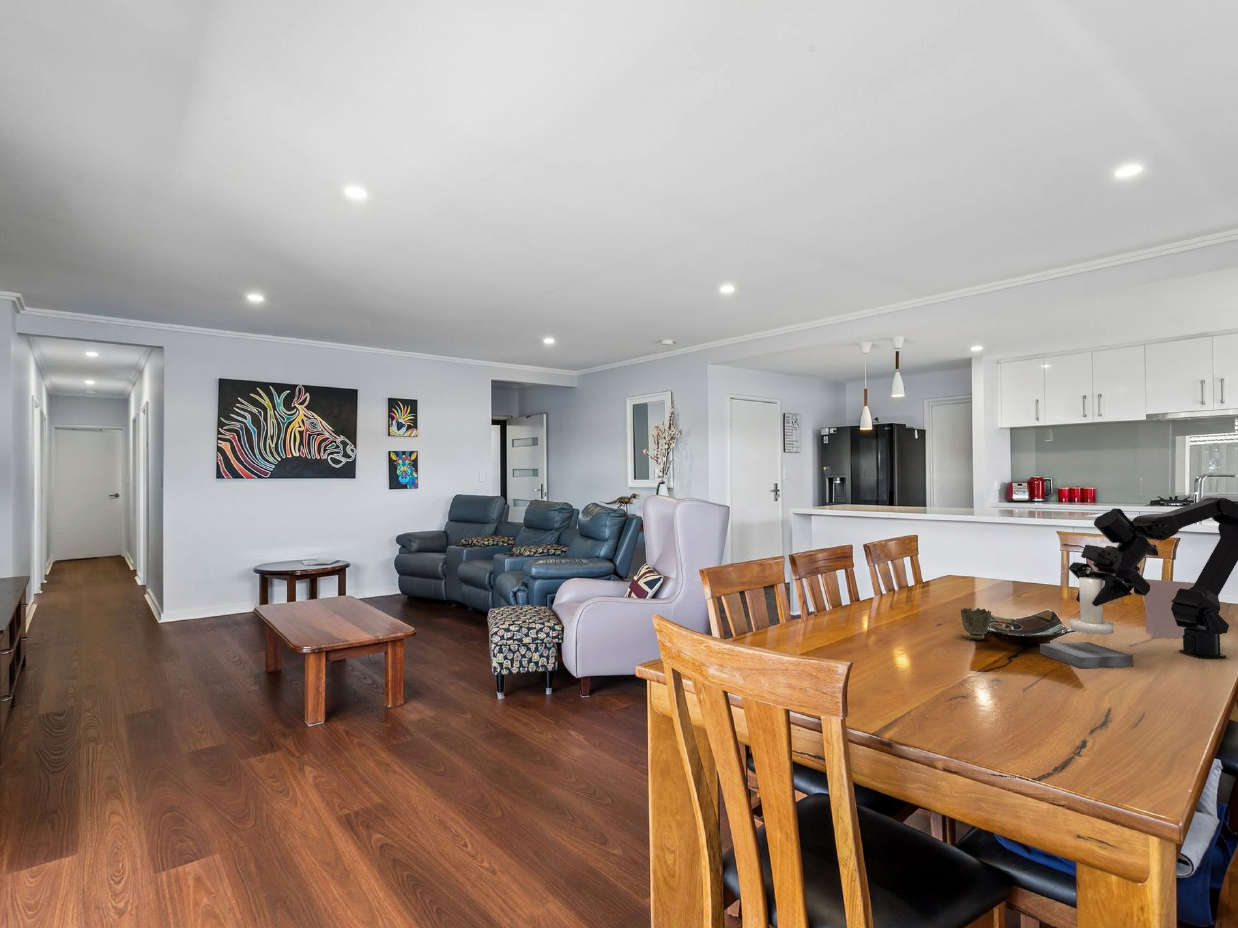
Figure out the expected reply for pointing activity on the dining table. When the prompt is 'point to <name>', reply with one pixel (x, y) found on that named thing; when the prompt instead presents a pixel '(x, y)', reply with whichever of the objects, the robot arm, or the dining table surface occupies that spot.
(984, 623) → the cup
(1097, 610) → the cream cylindrical piece
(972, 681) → the dining table surface
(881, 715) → the dining table surface
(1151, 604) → the greeting card
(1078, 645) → the grey block
